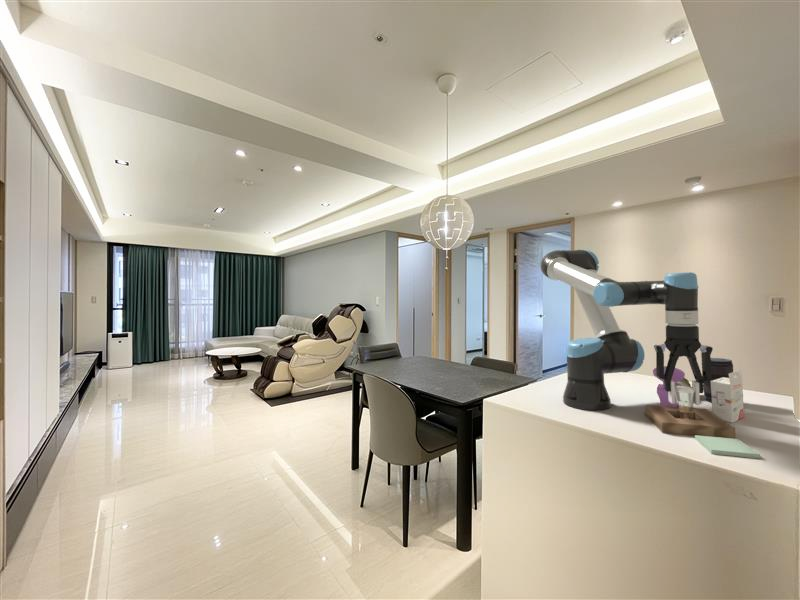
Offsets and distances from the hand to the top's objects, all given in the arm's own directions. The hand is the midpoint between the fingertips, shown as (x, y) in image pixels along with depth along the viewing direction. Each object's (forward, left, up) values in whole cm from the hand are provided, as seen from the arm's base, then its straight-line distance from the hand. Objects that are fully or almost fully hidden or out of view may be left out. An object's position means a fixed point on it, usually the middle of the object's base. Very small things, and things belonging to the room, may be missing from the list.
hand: (683, 402), depth 101 cm
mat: (+3, -15, -7) cm, 17 cm away
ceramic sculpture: (+9, +33, -7) cm, 35 cm away
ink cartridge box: (+14, +10, -7) cm, 19 cm away
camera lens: (+19, +28, -7) cm, 34 cm away
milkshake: (0, 0, -4) cm, 4 cm away
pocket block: (0, 0, -7) cm, 7 cm away
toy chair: (+1, +15, -7) cm, 16 cm away
